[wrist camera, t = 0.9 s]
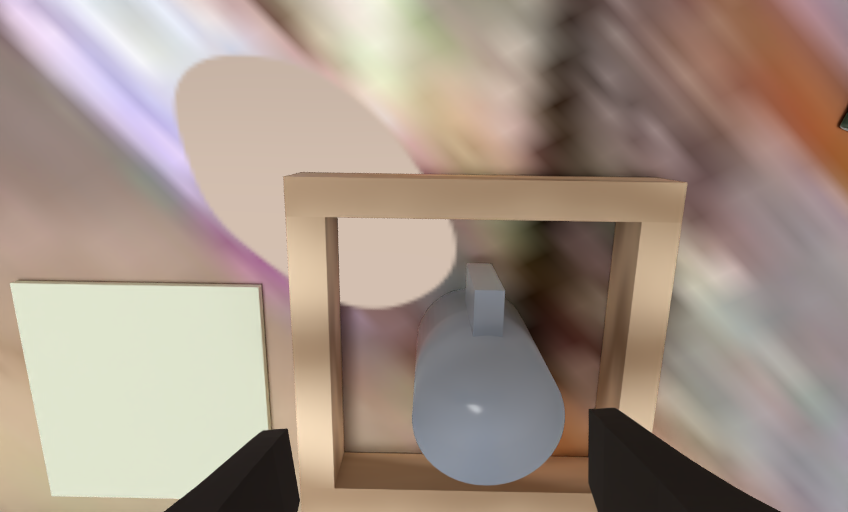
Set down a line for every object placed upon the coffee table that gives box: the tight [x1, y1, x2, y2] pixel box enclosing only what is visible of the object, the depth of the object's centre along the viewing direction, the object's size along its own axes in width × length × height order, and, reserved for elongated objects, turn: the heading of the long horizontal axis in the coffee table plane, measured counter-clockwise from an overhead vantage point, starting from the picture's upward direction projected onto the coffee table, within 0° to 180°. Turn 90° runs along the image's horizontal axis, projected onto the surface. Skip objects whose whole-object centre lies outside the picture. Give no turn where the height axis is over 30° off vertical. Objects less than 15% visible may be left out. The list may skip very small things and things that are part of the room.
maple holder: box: [283, 172, 687, 512], centre depth 21 cm, size 15×15×2 cm
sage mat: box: [10, 281, 271, 499], centre depth 23 cm, size 11×11×1 cm
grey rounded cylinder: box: [412, 263, 565, 486], centre depth 19 cm, size 7×5×6 cm
